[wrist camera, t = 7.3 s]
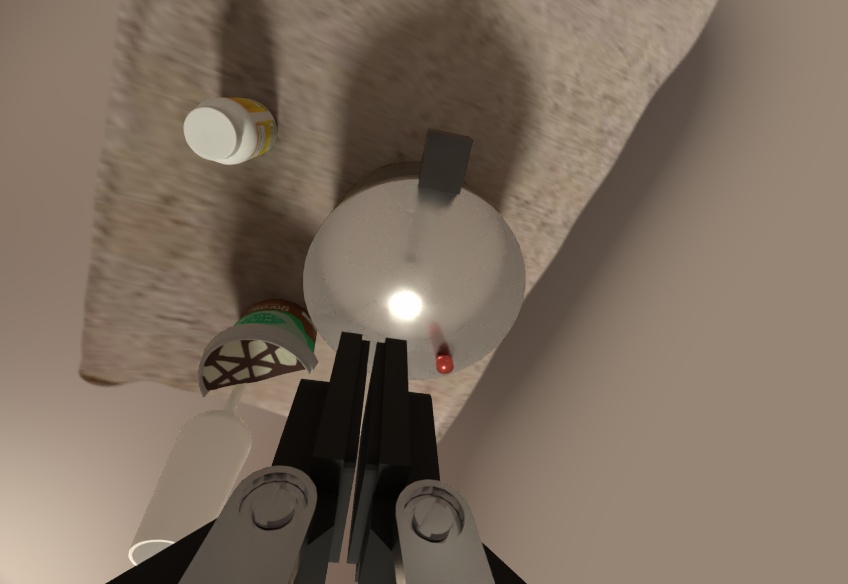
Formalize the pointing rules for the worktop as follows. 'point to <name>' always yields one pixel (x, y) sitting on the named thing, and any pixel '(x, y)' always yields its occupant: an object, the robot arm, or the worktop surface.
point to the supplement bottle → (230, 129)
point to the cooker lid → (418, 266)
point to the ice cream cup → (260, 346)
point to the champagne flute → (194, 478)
